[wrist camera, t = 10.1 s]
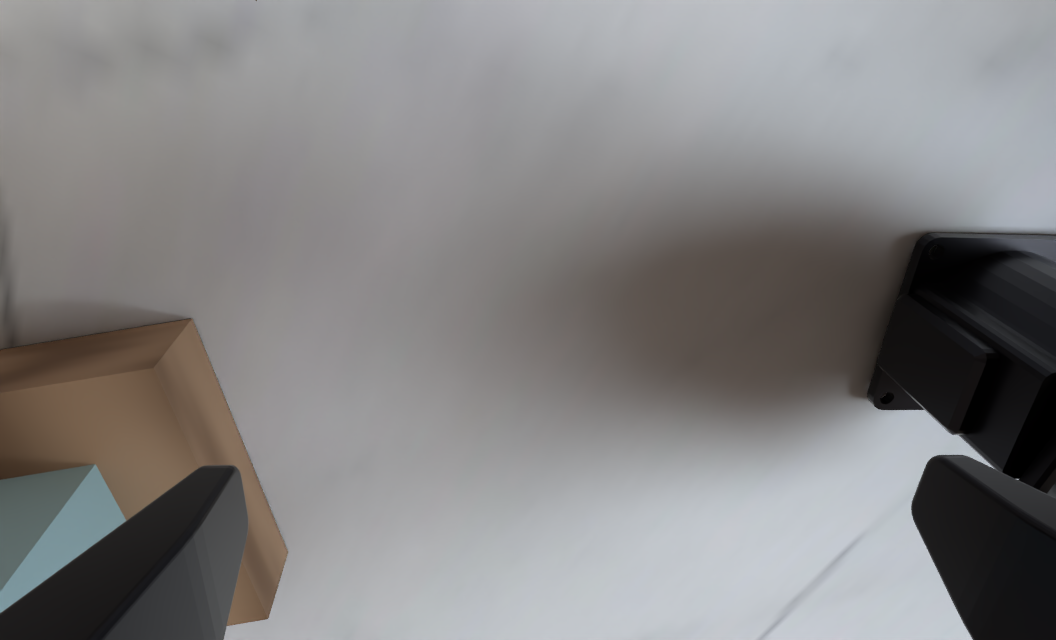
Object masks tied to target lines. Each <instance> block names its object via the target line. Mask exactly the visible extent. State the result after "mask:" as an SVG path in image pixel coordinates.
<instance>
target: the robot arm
mask: <svg viewBox="0 0 1056 640" xmlns="http://www.w3.org/2000/svg"><path fill="white" fill-rule="evenodd" d="M935 245H937V247H936V249H935V251H934V252H933V253H931V254H929V251H930V249H931V248H932V247H933V246H935ZM886 392H887V394H886V395H885V396H884V397H881V396H882V395H883V394H884V393H886ZM867 397H868V399H869V401H870V402H871V403H872V404H873V405H874V406H875V407H876V408H878V409H881V410H925V411H926V412H928V413H929V414H930V415H931V416H932V417H933V418H934V419H935V420H936V421H937V422H938V423H939V424H940V425H941V426H942V427H943V428H945V429H946V430H947V431H948V432H949V433H950V434H952V435H959V436H960V437H961V438H962V439H963V440H964V441H965V442H966V443H968V444H969V445H970V446H971V447H972V448H973V449H974V450H975V451H976V452H977V453H978V454H979V455H980V456H982V457H983V458H984V459H985V460H986V461H987V462H988V463H989V464H990V465H991V466H992V467H993V468H994V469H993V468H991V467H989V466H987V465H985V464H983V463H981V462H979V461H976V460H974V459H972V458H970V457H968V456H964V455H938V456H934V457H932V458H931V459H930V460H929V461H928V462H927V464H926V467H925V469H924V472H923V474H922V477H921V480H920V482H919V485H918V487H917V490H916V492H915V495H914V498H913V500H912V506H911V510H912V516H913V520H914V522H915V525H916V527H917V529H918V531H919V533H920V535H921V537H922V539H923V541H924V543H925V545H926V547H927V549H928V551H929V554H930V556H931V558H932V560H933V562H934V564H935V566H936V568H937V570H938V572H939V574H940V576H941V578H942V580H943V583H944V585H945V587H946V589H947V591H948V593H949V595H950V597H951V599H952V601H953V603H954V605H955V607H956V609H957V611H958V613H959V615H960V617H961V619H962V621H963V623H964V625H965V627H966V628H967V630H968V632H969V634H970V635H971V637H972V639H973V640H1056V236H1049V235H1005V234H961V233H930V234H927V235H925V236H923V237H922V238H921V239H920V240H919V241H918V242H917V243H916V245H915V247H914V250H913V253H912V256H911V259H910V262H909V266H908V269H907V272H906V275H905V278H904V281H903V284H902V287H901V290H900V293H899V297H898V299H897V301H896V303H895V307H894V310H893V313H892V316H891V319H890V322H889V325H888V328H887V331H886V335H885V338H884V341H883V344H882V347H881V350H880V353H879V356H878V359H877V365H876V368H875V371H874V374H873V377H872V380H871V383H870V387H869V390H868V394H867ZM995 469H996V470H995ZM1016 479H1019V480H1016ZM248 524H249V522H248V512H247V506H246V500H245V494H244V488H243V482H242V477H241V473H240V471H239V469H238V468H237V467H236V466H234V465H205V466H201V467H199V468H198V469H196V470H195V471H193V472H192V473H191V474H189V475H188V476H187V477H185V478H184V479H183V480H181V481H180V482H178V483H177V484H176V485H174V486H173V487H172V488H170V489H169V490H168V491H166V492H165V493H163V494H162V495H161V496H159V497H158V498H157V499H155V500H154V501H153V502H151V503H150V504H148V505H147V506H146V507H144V508H143V509H142V510H140V511H139V512H138V513H136V514H135V515H133V516H132V517H131V518H129V519H128V520H127V521H125V522H124V523H123V524H121V525H120V526H118V527H117V528H116V529H114V530H113V531H112V532H110V533H109V534H108V535H106V536H105V537H103V538H102V539H101V540H99V541H98V542H97V543H95V544H94V545H93V546H91V547H90V548H88V549H87V550H86V551H84V552H83V553H82V554H80V555H79V556H78V557H76V558H75V559H73V560H72V561H71V562H69V563H68V564H67V565H65V566H64V567H63V568H61V569H60V570H58V571H57V572H56V573H54V574H53V575H52V576H50V577H49V578H48V579H46V580H45V581H43V582H42V583H41V584H39V585H38V586H37V587H35V588H34V589H33V590H31V591H30V592H28V593H27V594H26V595H24V596H23V597H22V598H20V599H19V600H18V601H16V602H15V603H13V604H12V605H11V606H9V607H8V608H7V609H5V610H4V611H3V612H1V613H0V640H223V639H224V635H225V631H226V626H227V622H228V618H229V613H230V609H231V605H232V600H233V596H234V592H235V587H236V583H237V579H238V574H239V570H240V566H241V561H242V557H243V553H244V548H245V544H246V539H247V535H248Z"/></svg>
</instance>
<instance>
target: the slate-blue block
mask: <svg viewBox="0 0 1056 640" xmlns="http://www.w3.org/2000/svg"><path fill="white" fill-rule="evenodd" d="M125 521H126V519H125V517H124V515H123V514H122V512H121V510H120V508H119V506H118V504H117V503H116V501H115V499H114V497H113V495H112V493H111V492H110V490H109V488H108V486H107V484H106V482H105V481H104V479H103V477H102V475H101V473H100V471H99V470H98V468H97V466H96V464H93V465H87V466H81V467H75V468H69V469H63V470H57V471H51V472H45V473H39V474H33V475H27V476H21V477H15V478H9V479H3V480H0V613H1V612H3V611H4V610H5V609H7V608H8V607H9V606H11V605H12V604H13V603H15V602H16V601H18V600H19V599H20V598H22V597H23V596H24V595H26V594H27V593H28V592H30V591H31V590H33V589H34V588H35V587H37V586H38V585H39V584H41V583H42V582H43V581H45V580H46V579H48V578H49V577H50V576H52V575H53V574H54V573H56V572H57V571H58V570H60V569H61V568H63V567H64V566H65V565H67V564H68V563H69V562H71V561H72V560H73V559H75V558H76V557H78V556H79V555H80V554H82V553H83V552H84V551H86V550H87V549H88V548H90V547H91V546H93V545H94V544H95V543H97V542H98V541H99V540H101V539H102V538H103V537H105V536H106V535H108V534H109V533H110V532H112V531H113V530H114V529H116V528H117V527H118V526H120V525H121V524H123V523H124V522H125Z"/></svg>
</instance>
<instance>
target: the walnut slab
mask: <svg viewBox="0 0 1056 640" xmlns="http://www.w3.org/2000/svg"><path fill="white" fill-rule="evenodd" d="M93 464H96V466H97V468H98V470H99V471H100V473H101V475H102V477H103V479H104V481H105V482H106V484H107V486H108V488H109V490H110V492H111V493H112V495H113V497H114V499H115V501H116V503H117V504H118V506H119V508H120V510H121V512H122V514H123V515H124V517H125V519H126V521H127V520H128V519H129V518H131V517H132V516H133V515H135V514H136V513H138V512H139V511H140V510H142V509H143V508H144V507H146V506H147V505H148V504H150V503H151V502H153V501H154V500H155V499H157V498H158V497H159V496H161V495H162V494H163V493H165V492H166V491H168V490H169V489H170V488H172V487H173V486H174V485H176V484H177V483H178V482H180V481H181V480H183V479H184V478H185V477H187V476H188V475H189V474H191V473H192V472H193V471H195V470H196V469H198V468H199V467H201V466H205V465H234V466H236V467H237V468H238V469H239V471H240V473H241V477H242V482H243V488H244V494H245V500H246V506H247V512H248V522H249V524H248V535H247V539H246V544H245V548H244V553H243V557H242V561H241V566H240V570H239V574H238V579H237V583H236V587H235V592H234V596H233V600H232V605H231V609H230V613H229V618H228V622H227V626H229V625H235V624H241V623H247V622H253V621H259V620H265V619H268V618H269V614H270V611H271V608H272V604H273V601H274V598H275V594H276V591H277V588H278V584H279V581H280V578H281V574H282V571H283V568H284V564H285V561H286V558H287V554H288V551H287V548H286V546H285V544H284V541H283V539H282V536H281V534H280V531H279V529H278V526H277V524H276V522H275V519H274V517H273V514H272V512H271V509H270V507H269V505H268V502H267V500H266V497H265V495H264V492H263V490H262V487H261V485H260V483H259V480H258V478H257V475H256V473H255V470H254V468H253V466H252V463H251V461H250V458H249V456H248V453H247V451H246V448H245V446H244V444H243V441H242V439H241V436H240V434H239V431H238V429H237V427H236V424H235V422H234V419H233V417H232V414H231V412H230V409H229V407H228V405H227V402H226V400H225V397H224V395H223V392H222V390H221V388H220V385H219V383H218V380H217V378H216V375H215V373H214V370H213V368H212V366H211V363H210V361H209V358H208V356H207V353H206V351H205V349H204V346H203V344H202V341H201V339H200V336H199V334H198V331H197V329H196V327H195V324H194V322H193V319H186V320H180V321H174V322H168V323H162V324H155V325H149V326H143V327H137V328H131V329H125V330H119V331H112V332H106V333H100V334H94V335H88V336H82V337H76V338H70V339H63V340H57V341H51V342H45V343H39V344H33V345H27V346H20V347H14V348H8V349H2V350H0V480H3V479H9V478H15V477H21V476H27V475H33V474H39V473H45V472H51V471H57V470H63V469H69V468H75V467H81V466H87V465H93Z"/></svg>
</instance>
